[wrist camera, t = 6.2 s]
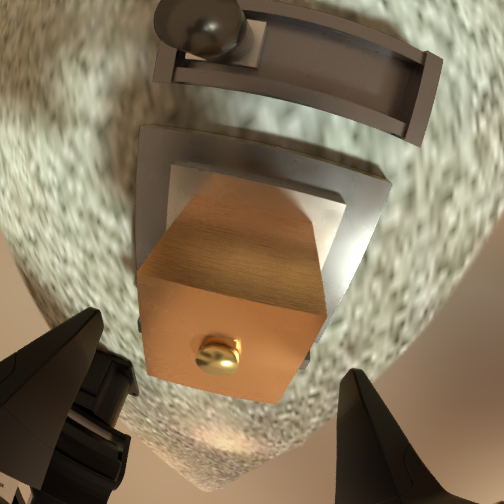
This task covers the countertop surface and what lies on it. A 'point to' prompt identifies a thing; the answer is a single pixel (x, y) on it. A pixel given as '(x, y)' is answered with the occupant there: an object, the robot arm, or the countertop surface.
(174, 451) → the countertop surface
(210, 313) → the block
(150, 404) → the countertop surface
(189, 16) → the lever
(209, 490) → the countertop surface
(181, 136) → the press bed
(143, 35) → the countertop surface
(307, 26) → the lever track
